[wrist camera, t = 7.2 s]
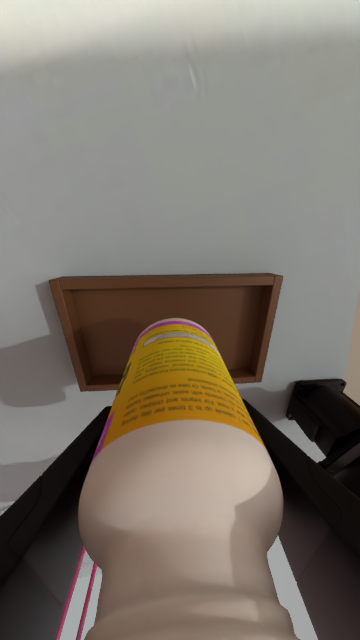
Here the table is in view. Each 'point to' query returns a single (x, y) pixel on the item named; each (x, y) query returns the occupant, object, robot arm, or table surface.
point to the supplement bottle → (182, 501)
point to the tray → (163, 303)
